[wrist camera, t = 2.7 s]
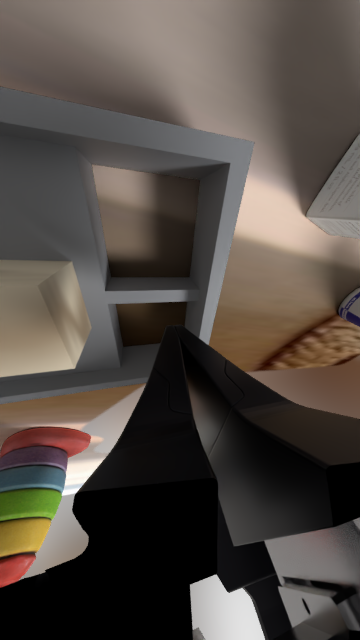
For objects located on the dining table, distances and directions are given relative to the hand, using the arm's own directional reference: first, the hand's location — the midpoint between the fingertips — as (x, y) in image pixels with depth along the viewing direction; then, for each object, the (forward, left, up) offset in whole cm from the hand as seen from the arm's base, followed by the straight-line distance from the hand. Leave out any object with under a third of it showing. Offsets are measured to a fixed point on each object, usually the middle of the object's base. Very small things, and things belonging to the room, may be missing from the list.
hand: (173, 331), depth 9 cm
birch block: (0, +8, -4) cm, 9 cm away
